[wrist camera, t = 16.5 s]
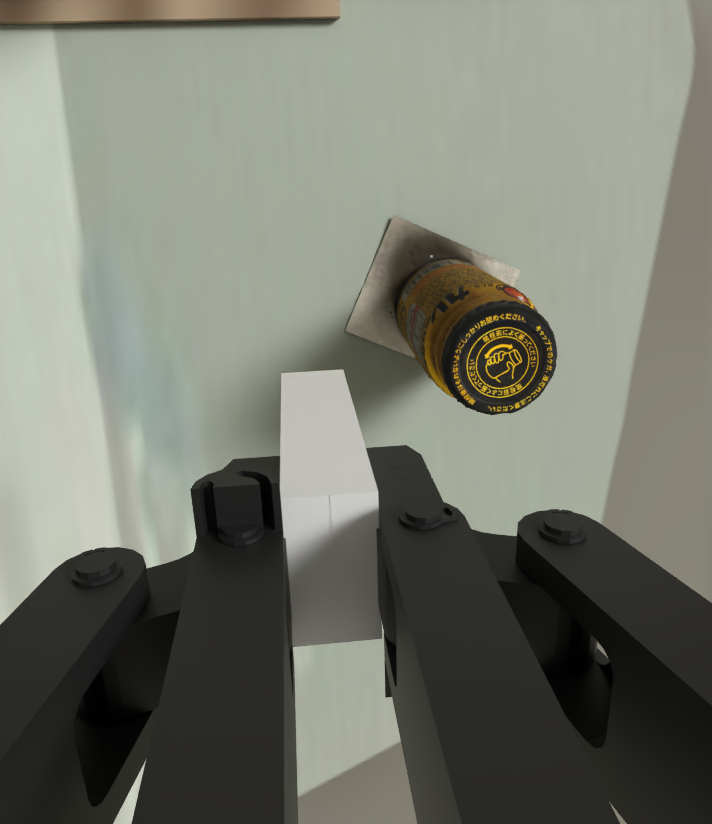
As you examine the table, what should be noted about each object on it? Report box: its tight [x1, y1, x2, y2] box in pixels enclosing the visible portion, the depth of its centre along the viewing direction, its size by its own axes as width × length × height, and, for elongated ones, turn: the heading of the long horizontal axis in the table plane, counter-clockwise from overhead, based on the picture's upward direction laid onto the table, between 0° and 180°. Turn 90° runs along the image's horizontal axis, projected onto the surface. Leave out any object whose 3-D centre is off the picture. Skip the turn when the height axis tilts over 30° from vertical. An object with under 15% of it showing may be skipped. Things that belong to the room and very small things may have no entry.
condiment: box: [345, 215, 557, 415], centre depth 35 cm, size 7×8×12 cm
